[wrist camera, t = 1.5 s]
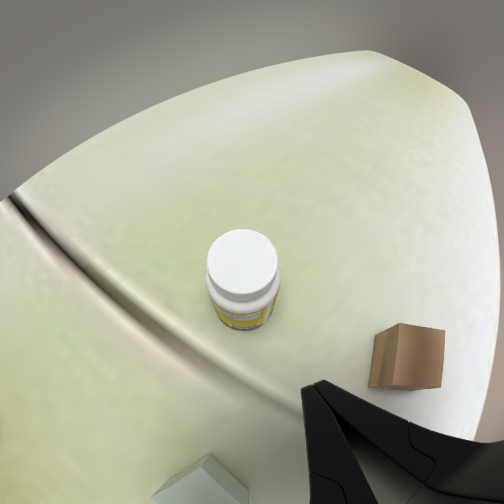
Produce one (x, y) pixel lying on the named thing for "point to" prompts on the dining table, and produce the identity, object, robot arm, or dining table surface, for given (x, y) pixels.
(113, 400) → the dining table surface
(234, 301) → the supplement bottle
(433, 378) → the walnut block
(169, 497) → the painted block
